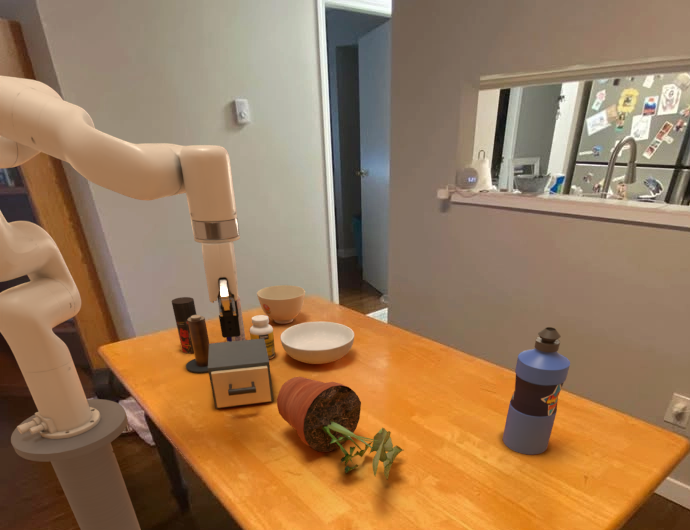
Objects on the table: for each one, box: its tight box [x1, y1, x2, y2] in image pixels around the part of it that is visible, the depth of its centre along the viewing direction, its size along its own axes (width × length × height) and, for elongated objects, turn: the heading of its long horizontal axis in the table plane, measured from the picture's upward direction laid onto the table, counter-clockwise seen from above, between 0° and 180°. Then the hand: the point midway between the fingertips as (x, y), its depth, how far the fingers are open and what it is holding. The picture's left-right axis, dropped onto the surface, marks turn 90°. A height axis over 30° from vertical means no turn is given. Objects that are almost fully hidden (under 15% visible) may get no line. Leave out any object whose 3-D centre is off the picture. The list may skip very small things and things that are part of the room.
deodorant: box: [171, 296, 198, 355], centre depth 134 cm, size 6×6×15 cm
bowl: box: [256, 284, 306, 325], centre depth 156 cm, size 16×16×10 cm
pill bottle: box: [249, 314, 276, 360], centre depth 130 cm, size 6×6×12 cm
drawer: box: [211, 365, 271, 409], centre depth 110 cm, size 18×12×9 cm
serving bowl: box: [280, 320, 355, 365], centre depth 132 cm, size 21×21×7 cm
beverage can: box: [226, 293, 247, 342], centre depth 138 cm, size 6×6×15 cm
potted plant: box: [276, 376, 404, 481], centre depth 88 cm, size 16×15×35 cm
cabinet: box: [208, 338, 274, 410], centre depth 113 cm, size 15×14×11 cm
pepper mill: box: [187, 314, 210, 367], centre depth 124 cm, size 4×4×14 cm
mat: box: [185, 358, 209, 374], centre depth 128 cm, size 10×10×1 cm
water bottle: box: [502, 326, 571, 456], centre depth 90 cm, size 9×9×25 cm
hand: (231, 326), depth 86 cm, fingers open, 9 cm apart
